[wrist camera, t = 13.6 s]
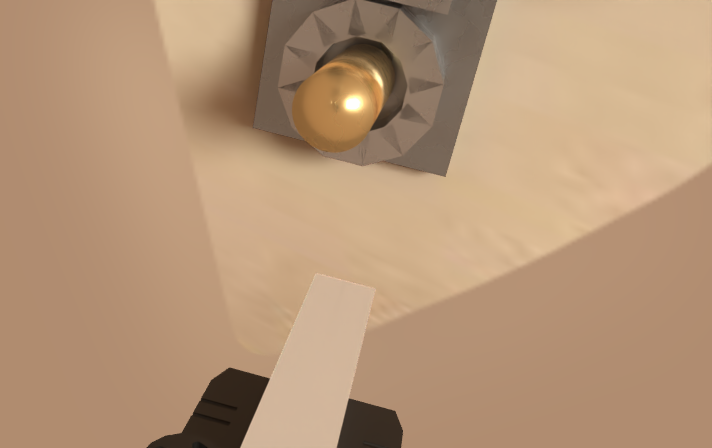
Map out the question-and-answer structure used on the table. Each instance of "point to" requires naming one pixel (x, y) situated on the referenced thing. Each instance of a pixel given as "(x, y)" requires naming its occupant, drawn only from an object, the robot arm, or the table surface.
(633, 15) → the table surface
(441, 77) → the jig
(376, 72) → the brass cylinder peg
